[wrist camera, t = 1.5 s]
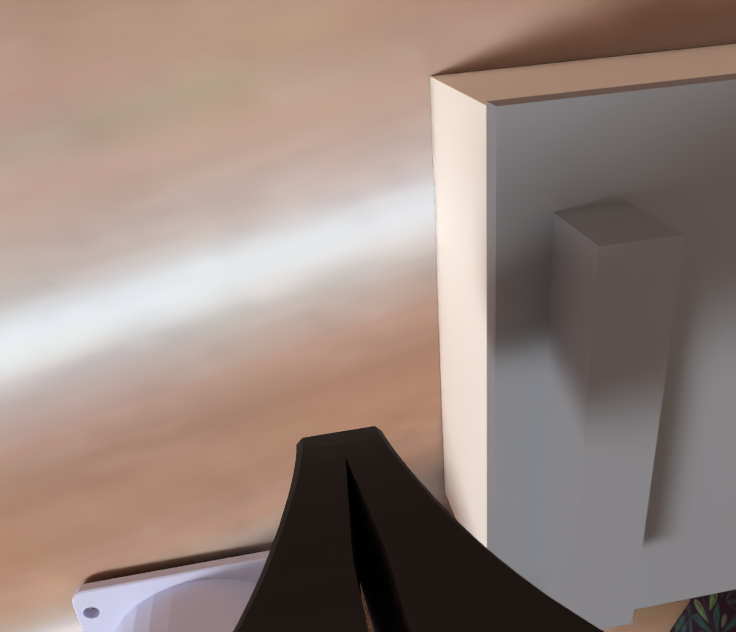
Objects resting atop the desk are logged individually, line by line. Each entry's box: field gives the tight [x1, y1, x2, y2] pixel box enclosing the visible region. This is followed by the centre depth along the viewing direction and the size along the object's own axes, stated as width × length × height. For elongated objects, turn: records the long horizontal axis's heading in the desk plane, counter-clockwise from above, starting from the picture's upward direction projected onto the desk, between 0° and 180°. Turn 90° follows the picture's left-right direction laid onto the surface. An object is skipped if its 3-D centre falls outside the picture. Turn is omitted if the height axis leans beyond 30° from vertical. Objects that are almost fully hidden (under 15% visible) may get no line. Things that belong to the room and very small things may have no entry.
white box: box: [430, 44, 736, 548], centre depth 20 cm, size 14×16×5 cm
